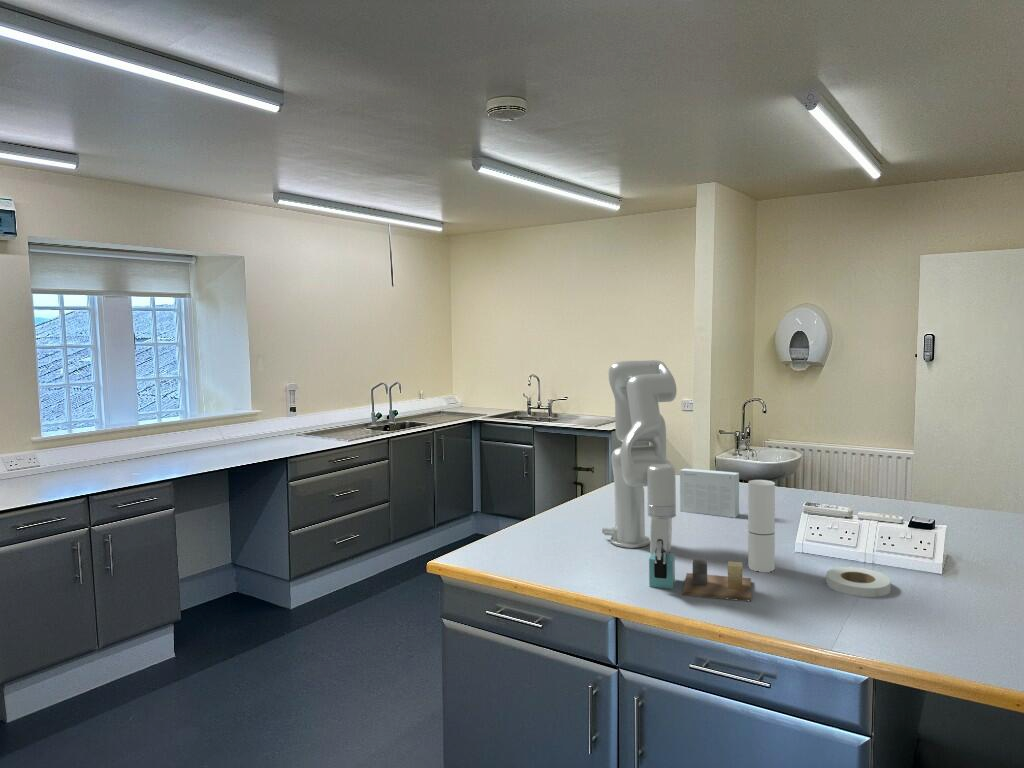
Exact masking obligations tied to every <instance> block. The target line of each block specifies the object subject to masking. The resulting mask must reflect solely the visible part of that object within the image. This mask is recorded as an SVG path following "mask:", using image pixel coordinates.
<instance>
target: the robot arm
mask: <svg viewBox="0 0 1024 768" xmlns="http://www.w3.org/2000/svg"><path fill="white" fill-rule="evenodd" d="M608 382H609V385H610V386H609V387H610V388H611V391H612V394H613V399H614V419H615V420H614V421H615V424H614V425H615V428H614V429H615V435H616V439H618V441H619V442H622V443H621V446H620V447H617V448H615V449H614V450H613V451H612V454H611V456H610V457H611V458H610V459H611V466H612V467H611V468H612V472H613V473H612V474H613V481H614V482H613V485H614V522H615V523H614V525H615V526H614V527H612V528H608V527H602V529H601V532H602V533H601V534H603V535H604V536H611V537H610V543H611V544H612V545H614V546H617V547H620V548H629V549H635V548H642V547H643V548H644V547H646V546H648V545H650V546H649V547H650V549H649V551H650V552H649V553H650V555H651V554H653V553H655V562H654V577H655V578H664V579H666V578H667V563H666V555H667V554H669V553H671V552H670V551H671V548H672V541H673V540H672V539H673V530H672V529H673V522H672V521H673V520H672V519H674V518H675V517H677V502H676V499H677V498H676V497H677V495H676V494H677V493H676V490H677V489H676V488H677V487H676V482H677V481H676V469H675V467H674V466H673V464H672V463H671V462H670V460H668V459H667V427H666V422H665V418H664V416H663V415H662V414H661V412H660V406H659V405H660V404H659V403H671V402H673V401H674V400H675V399H676V396H677V390H678V389H677V385H676V383H677V382H676V380H675V377H674V375H673V374H672V372H671V371H670V369H669V368H668V366H667V365H666V364H665V363H664V362H663V361H661V360H624V361H618V362H614V363H612V364H611V365H610V367H609V368H608ZM634 443H650V445H633V444H634ZM645 487H647V489H646V491H647V516H648V518H649V517H650V537H649V536H647V535H645V533H646V532H645V531H646V528H645V527H646V524H645V523H646V519H645V489H644V488H645ZM662 555H663V556H662Z"/></svg>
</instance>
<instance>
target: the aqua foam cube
mask: <svg viewBox="0 0 1024 768" xmlns="http://www.w3.org/2000/svg"><path fill="white" fill-rule="evenodd" d="M675 555H676V554H675V553H671V552H670V553H669V554H667V555H666V563H667V578H666V579H664V578H655V577H654V562H655V553H653V554H651V553H650V556H649V560H648V570H649V571H648V574H649V575H648V577H649V578H648V582H649V583H648V584H649V585H648V586H649V588H659V589H660V588H663V589H672V590H673V589H674V586H675V581H676V565H675V564H676V557H675ZM662 556H663V555H662Z"/></svg>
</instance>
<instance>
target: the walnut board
mask: <svg viewBox="0 0 1024 768" xmlns="http://www.w3.org/2000/svg"><path fill="white" fill-rule="evenodd" d="M683 583H684V584H683V588H682V596H687V597H688V596H689V597H698V596H701V597H700V598H709V597H715V598H714V599H719V598H728V599H727V600H730V599H737V600H736V601H741V600H749V601H748V602H752V578H751V577H750V578H749V577H742V589H732V588H728V575H718V574H717V575H716V574H715V575H714V574H708V559H702V558H693V559H692V573H691V572H690V573H689V572H687V573H686V574H685V580H684V582H683Z"/></svg>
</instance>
